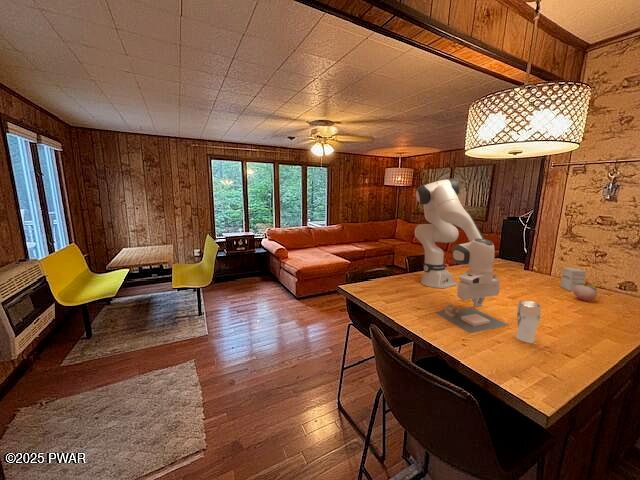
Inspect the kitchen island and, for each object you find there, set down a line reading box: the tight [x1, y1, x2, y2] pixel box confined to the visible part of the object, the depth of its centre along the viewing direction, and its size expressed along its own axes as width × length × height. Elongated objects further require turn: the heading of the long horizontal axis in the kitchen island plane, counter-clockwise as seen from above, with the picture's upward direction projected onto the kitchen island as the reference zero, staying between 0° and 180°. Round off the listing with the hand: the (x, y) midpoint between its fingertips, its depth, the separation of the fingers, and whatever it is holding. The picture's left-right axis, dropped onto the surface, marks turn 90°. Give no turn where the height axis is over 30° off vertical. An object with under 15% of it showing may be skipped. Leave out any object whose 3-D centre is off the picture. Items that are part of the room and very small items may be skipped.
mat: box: [435, 306, 510, 334], centre depth 119 cm, size 22×20×1 cm
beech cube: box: [444, 304, 460, 317], centre depth 123 cm, size 4×4×4 cm
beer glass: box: [515, 300, 542, 345], centre depth 100 cm, size 7×7×15 cm
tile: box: [461, 314, 490, 327], centre depth 116 cm, size 2×7×9 cm
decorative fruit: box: [572, 282, 598, 302], centre depth 139 cm, size 9×8×10 cm
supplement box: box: [560, 267, 587, 292], centre depth 157 cm, size 7×7×13 cm
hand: (477, 306), depth 115 cm, fingers closed
